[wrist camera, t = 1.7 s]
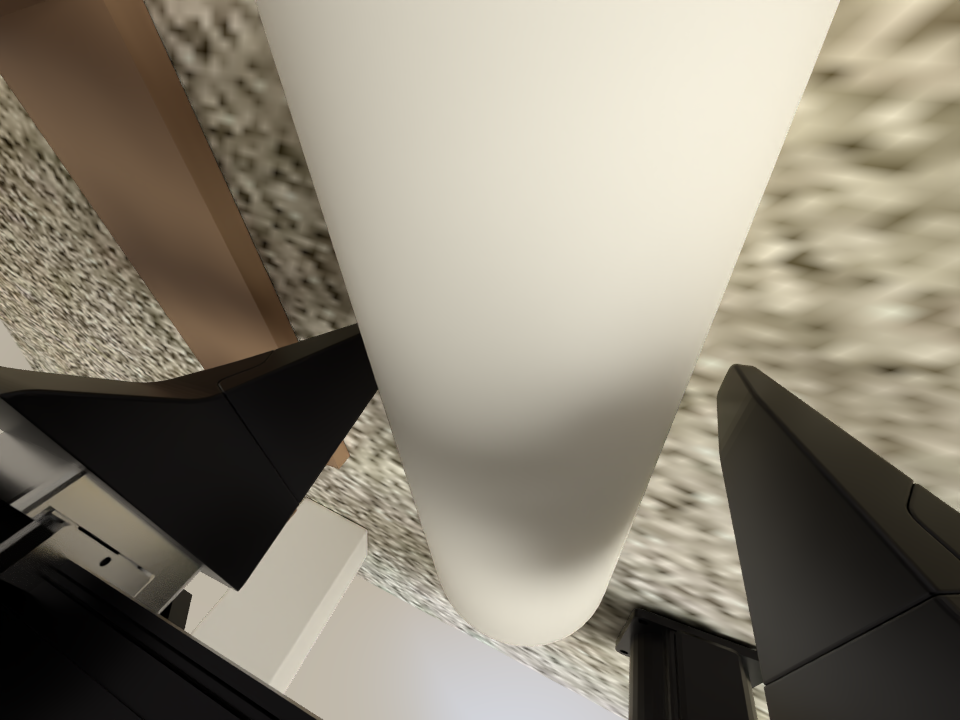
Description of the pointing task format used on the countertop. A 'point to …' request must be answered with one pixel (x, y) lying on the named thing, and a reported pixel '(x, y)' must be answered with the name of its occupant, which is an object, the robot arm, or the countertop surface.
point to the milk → (287, 595)
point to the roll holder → (144, 168)
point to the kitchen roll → (537, 250)
